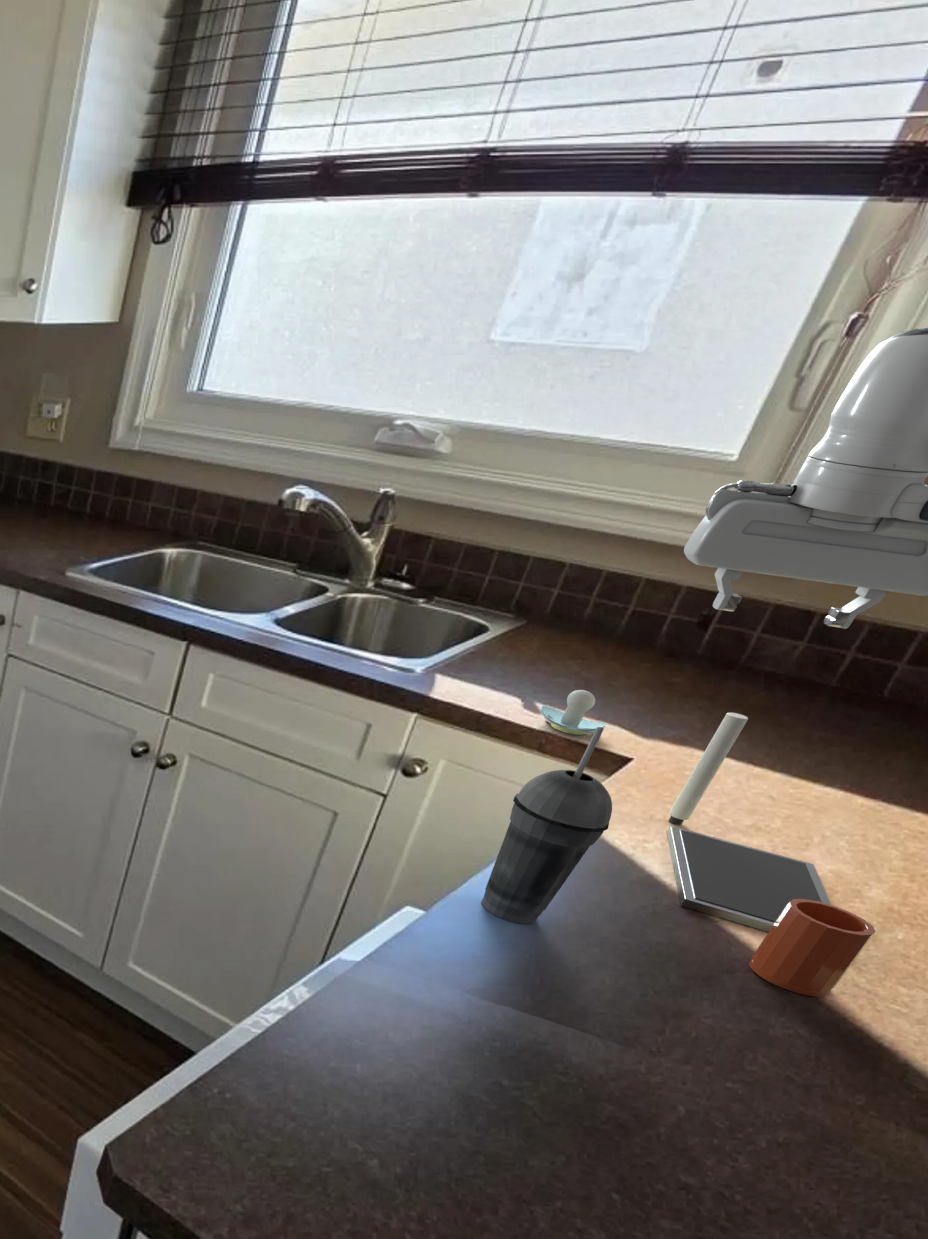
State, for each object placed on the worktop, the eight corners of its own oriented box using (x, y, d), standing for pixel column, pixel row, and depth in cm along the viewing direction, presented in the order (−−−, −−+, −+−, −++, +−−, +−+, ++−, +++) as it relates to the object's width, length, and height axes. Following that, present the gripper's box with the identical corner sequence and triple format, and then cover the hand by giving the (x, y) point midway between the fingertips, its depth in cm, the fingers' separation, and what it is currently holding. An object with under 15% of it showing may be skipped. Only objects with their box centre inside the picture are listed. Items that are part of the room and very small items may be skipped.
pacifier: (543, 716, 149) (530, 723, 145) (563, 676, 146) (550, 683, 143) (606, 735, 143) (593, 743, 140) (627, 694, 141) (615, 701, 137)
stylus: (684, 822, 121) (747, 715, 114) (685, 827, 120) (749, 720, 113) (664, 816, 122) (726, 710, 115) (665, 822, 120) (727, 715, 114)
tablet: (809, 870, 112) (814, 863, 111) (844, 955, 98) (850, 947, 97) (666, 831, 118) (670, 824, 118) (680, 905, 104) (685, 897, 104)
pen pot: (823, 976, 95) (867, 915, 91) (834, 1005, 91) (881, 942, 88) (745, 951, 97) (785, 891, 94) (752, 979, 94) (794, 917, 90)
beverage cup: (466, 914, 101) (557, 734, 92) (463, 881, 106) (548, 708, 97) (557, 941, 97) (661, 757, 88) (549, 906, 103) (647, 729, 94)
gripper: (733, 482, 107) (667, 607, 114) (1003, 512, 99) (917, 644, 106) (711, 473, 112) (649, 592, 119) (967, 500, 104) (886, 627, 111)
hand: (777, 617), depth 112 cm, fingers open, 8 cm apart
